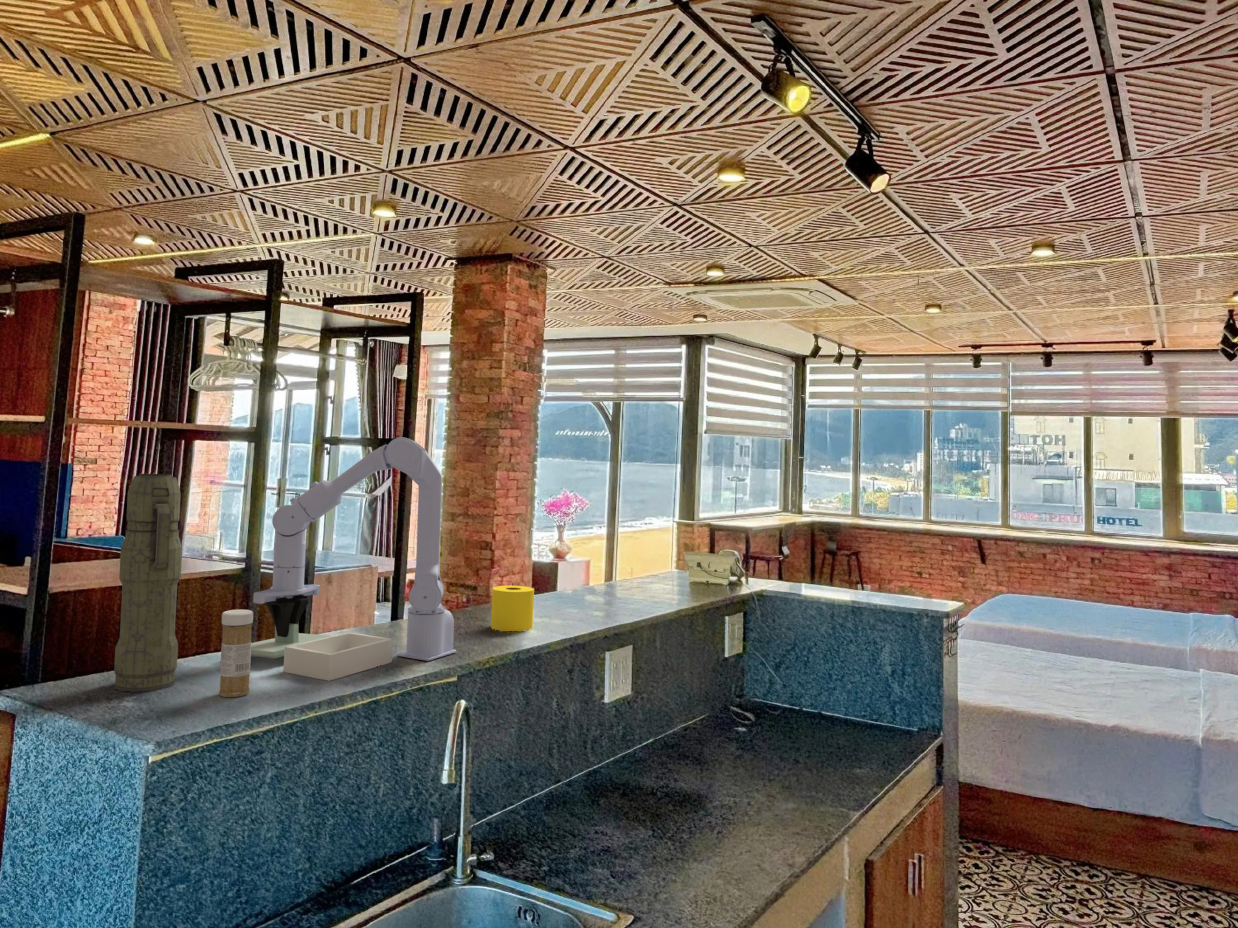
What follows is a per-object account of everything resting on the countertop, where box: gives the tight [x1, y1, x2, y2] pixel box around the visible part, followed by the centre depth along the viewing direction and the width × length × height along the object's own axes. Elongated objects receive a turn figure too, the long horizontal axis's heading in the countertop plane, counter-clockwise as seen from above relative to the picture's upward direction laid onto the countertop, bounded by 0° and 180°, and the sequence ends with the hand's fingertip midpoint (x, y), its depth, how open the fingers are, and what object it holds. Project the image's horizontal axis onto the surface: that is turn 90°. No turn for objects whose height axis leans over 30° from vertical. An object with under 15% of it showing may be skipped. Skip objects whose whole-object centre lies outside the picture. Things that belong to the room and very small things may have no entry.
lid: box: [251, 623, 331, 659], centre depth 154 cm, size 17×12×5 cm
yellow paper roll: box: [490, 585, 535, 632], centre depth 190 cm, size 10×10×9 cm
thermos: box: [113, 473, 183, 693], centre depth 131 cm, size 9×12×35 cm
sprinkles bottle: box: [218, 609, 254, 698], centre depth 128 cm, size 5×5×14 cm
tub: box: [283, 631, 394, 682], centre depth 147 cm, size 16×11×4 cm
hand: (286, 635), depth 154 cm, fingers closed on lid
